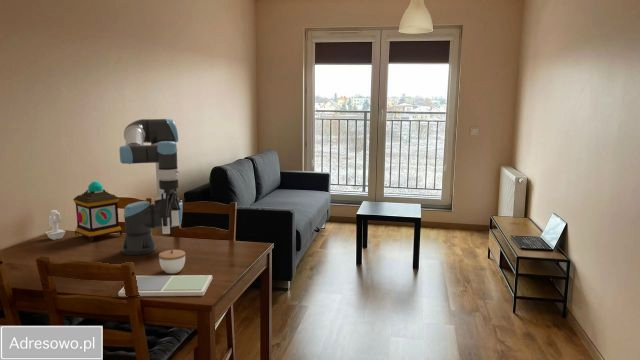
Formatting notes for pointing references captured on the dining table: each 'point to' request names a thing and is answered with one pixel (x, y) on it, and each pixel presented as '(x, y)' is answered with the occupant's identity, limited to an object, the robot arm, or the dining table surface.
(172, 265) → the lidded jar
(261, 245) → the dining table surface
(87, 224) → the decorative lantern
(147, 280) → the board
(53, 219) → the figurine
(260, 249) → the dining table surface
